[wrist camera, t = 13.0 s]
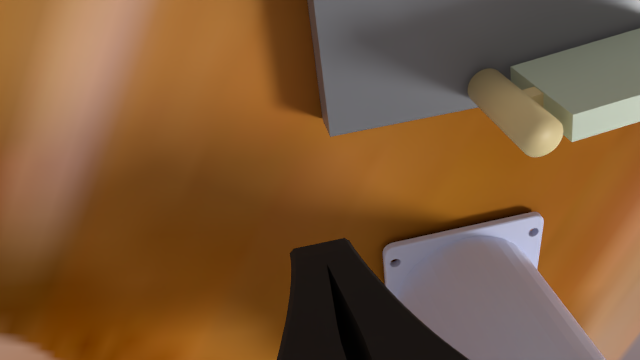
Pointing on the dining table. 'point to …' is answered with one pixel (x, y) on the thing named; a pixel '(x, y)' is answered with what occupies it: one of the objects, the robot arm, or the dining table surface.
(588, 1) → the console
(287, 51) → the dining table surface
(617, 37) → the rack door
